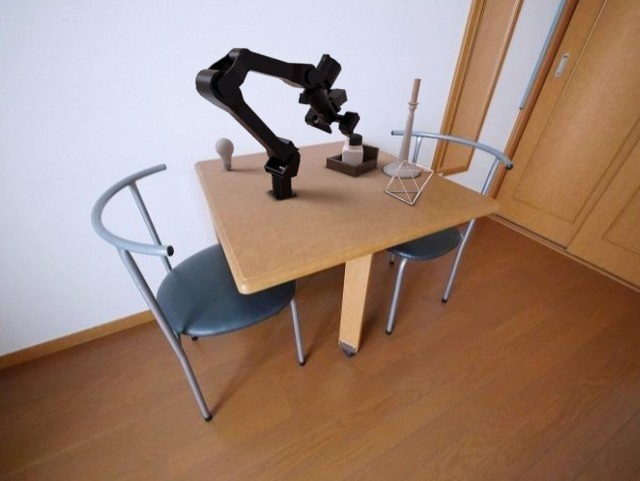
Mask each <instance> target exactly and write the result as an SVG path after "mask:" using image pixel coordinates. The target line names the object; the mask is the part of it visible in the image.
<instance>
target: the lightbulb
mask: <svg viewBox="0 0 640 481" xmlns="http://www.w3.org/2000/svg"><path fill="white" fill-rule="evenodd" d="M214 149H215V151H216V153H217V154H218V156H219V158H220V159H221V163H222V164H223V169H224V170H226V171H229V170H231V169H232V163H233V161H232V157H233V154H234V151H235V146H234V143H233V141H231V139H229V138H226V137H221V138H218V139H217V140H216V142H215V144H214Z"/></svg>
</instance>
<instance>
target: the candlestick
mask: <svg viewBox="0 0 640 481" xmlns="http://www.w3.org/2000/svg"><path fill="white" fill-rule="evenodd" d="M421 81H422V78H414V79H413V85H412V89H411V90H412V92H411V96H410V101H408V102H407V104H408V107H407V108H408V114H407V118H406V122H405V127H404V131H403V136H402V140H401V145H400V150H399V154H398V158H397V161H396V162H390V163H388V164H386V165H385V166H383V168H382V172H383V173H384V174H386V175H388V176H390V177H393V175H394V173H395V171H396V170H397V168H398V167H399V166H400V165H401V164H402V162H403V161H404V160H406V163H407V165H408V167H409V169H410V171H409V169H408V167H407V165H406V163H405V161H404V163H403V165H402V166H401V168H400V167H399V168H400V170H399V169H398V170H399V171H398V170H397V171H398V175H399V177H400V179H413V178H417V177H418V176H419V175H420V170H419V169H418V168H417V167H416V165H414V164H411V163H409V162H407V161H409V156H410V149H411V143H412V142H411V141H412V134H413V126H414V120H415V112H416V110H417V108H418V105H419V104H420V102H418V97H419V94H420V93H419V92H420V87H421ZM410 172H411V174H412V176H413V178H412V176H411V174H410ZM395 174H396V173H395ZM398 175H397V174H396V176H395V175H394V176H395V178H398V179H399V177H398Z"/></svg>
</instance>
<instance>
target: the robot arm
mask: <svg viewBox="0 0 640 481" xmlns="http://www.w3.org/2000/svg"><path fill="white" fill-rule="evenodd" d="M342 68H343V67H342V65H341V63H340V62H338V61H337V59H335V58H333V57H331V55H330V54H329V53H323V54H322V56H321V57H320V59H319V62H318V63H317V65H316V66H315V65H314V64H313V63H303V62H287V61H285V60H281V59H278V58H275V57H271V56H268V55H266V54H262V53H259V52H255V51H253V50H250V49H249V48H247V47H233V48H231V49H230V50H229V51H227V53H226V54H225V55H224V56H223V57H221V58H219V59H218V60H216V61H215V62H213V63H212V64H211V65H210V66H208V67H207V68H204V69H201V70H199V72H197V74H196V76H195V80H194V82H195V83H194V84H195V90H196V92H197V93H198V94H199V96H200V97H201V98H203V99H205V101H208V102H209V103H210V104H212V105H213V106H215V107H216V108H219V109H221V110H223V111H224V112H226V113H228V114H229V115H230V116H231V117H232V118H233V119H234V120H235V121H236V122H237V123H238V124H239V125H240V126H241V127H242V128H243V129H244V130H245V131H246V132H247V133H248V134H250V135H251V136H252V138H254V139H255V140H256V141H257V142H258V143H259V144H260V145H261V146H262V147H263V148H264V149H265V151H266V155H267V157H268V158H267V160H266V162H265V163H264V164H263V169H264V171H265V173H267V174H270V175H271V187H272V189H269V190H268V193H269V194H270V195H271V196H272V197H273V198H274V199H275V200H277V201H278V200H282V199H287V198H292V197H295V196H297V193H296V192H295V191H294V190H293V184H292V181H293V180H292V179H293V178H295V177H298V173H299V168H300V165H301V158H302V155H301V153H300V148H298V147H296V145H295V143H294V142H293V141H292V140H291V139H287V138H285V137H280V136H277V135H276V134H275V132H274V131H273V130H272V129H271V128H270V127H269V126H268V124H266V123H265V122H264V120H262V118H260V116H259V115H258V114H257V113H256V112H255V111H254V109H252V107H251V106H250V105H249V104H248V103H247V102H246V100H245V98H244V95H243V92H242V89H241V88H240V87H242V86H243V84H244V83H245V80H246V78H247V76H248V74H249V72H251V73H255V74H258V75H263V76H267V77H271V78H275V79H278V80H280V81H282V82H283V83H284V84H286V85H288V86H290V87H292V88H296V89H303V90H302V92H300V93H299V95H298V96H299V97H298V102H297V103H298V104H300V105H305V106H309V108H308V110H307V112H306V114H305V115H304V122H305V124H306V125H307V126H310V127H312V128H314V129H316V130H319V131H322V132H324V133H327V134H329V135H332V134H333V130H332V127H331V126H332V124H333V123H337V124H338V128H337V129H338V131H339V132H340V134H341V135H343V136H344V137H345V136H347V137H348V138H350V139H353V138H354V133H355V129H356V127H357V126H358V124H359V122H360V120H361V116H360V114H359V112H357V111H350V110H346V111H345V112H344V114H340V112H341V110H342V107H341V106H343V105H344V104H345V103H347V102H348V96H347V90H346V89H345V88H337V87H336V88H333V86H334V84H335V83H336V80H337V79H338V77H339V76H340V73H341V72H342V70H343V69H342Z"/></svg>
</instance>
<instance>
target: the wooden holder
mask: <svg viewBox="0 0 640 481" xmlns="http://www.w3.org/2000/svg"><path fill="white" fill-rule="evenodd" d="M362 147H363V159H362V163H361V164H358V165H351V164H348V163H345V162H342V155H343V152H341V153H338V154H335V155H332V156H329V157H326V160H325V168H327V169H330V170H332V171H336V172H339V173H342V174H345V175H348V176H350V177H352V178H353V177H354V178H356V177H358V176H360V175H363V174H365V173H368V172H370V171H373V170H375V169H377V168H378V167H377V166H378V160H379V151H380V147H377V146H374V145H369V144H366V143H362Z"/></svg>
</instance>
